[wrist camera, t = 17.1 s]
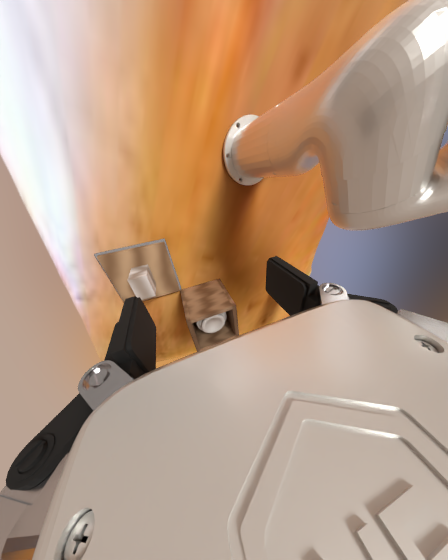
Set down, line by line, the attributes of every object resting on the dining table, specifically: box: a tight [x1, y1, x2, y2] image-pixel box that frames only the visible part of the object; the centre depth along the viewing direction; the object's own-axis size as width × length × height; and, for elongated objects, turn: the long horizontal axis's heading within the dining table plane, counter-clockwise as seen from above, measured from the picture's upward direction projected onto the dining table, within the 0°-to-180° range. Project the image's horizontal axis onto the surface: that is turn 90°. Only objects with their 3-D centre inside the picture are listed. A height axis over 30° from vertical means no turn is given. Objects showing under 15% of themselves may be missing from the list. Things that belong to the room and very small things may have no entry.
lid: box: [97, 242, 180, 302], centre depth 40 cm, size 15×15×7 cm
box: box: [180, 279, 239, 352], centre depth 49 cm, size 13×13×14 cm
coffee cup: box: [196, 312, 227, 333], centre depth 49 cm, size 9×9×12 cm
